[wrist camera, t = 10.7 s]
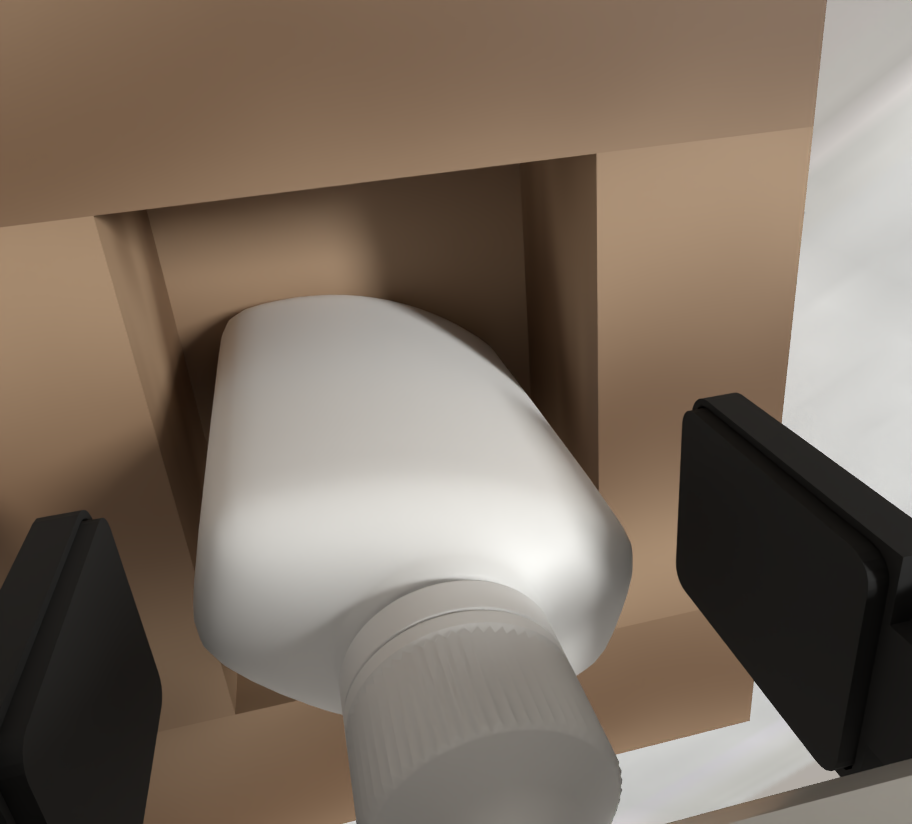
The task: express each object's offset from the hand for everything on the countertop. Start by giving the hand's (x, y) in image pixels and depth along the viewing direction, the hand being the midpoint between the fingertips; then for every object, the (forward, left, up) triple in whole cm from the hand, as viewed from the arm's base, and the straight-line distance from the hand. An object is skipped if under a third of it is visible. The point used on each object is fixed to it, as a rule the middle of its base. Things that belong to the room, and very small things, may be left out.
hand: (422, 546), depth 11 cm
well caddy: (0, 0, -7) cm, 7 cm away
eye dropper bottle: (0, 0, -7) cm, 7 cm away
